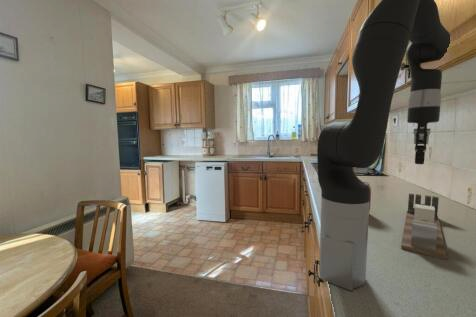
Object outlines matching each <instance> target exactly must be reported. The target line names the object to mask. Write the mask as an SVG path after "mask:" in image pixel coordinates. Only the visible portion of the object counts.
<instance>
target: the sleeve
mask: <svg viewBox="0 0 476 317" xmlns="http://www.w3.org/2000/svg"><path fill="white" fill-rule="evenodd" d="M414 208H415V213H414V220H419V221H420V220H424V221H427V222H430V223H434V216H435V208H434V207H433V206H432V205H431V206H426V205H425V204H424V205H419V204H415V203H414Z"/></svg>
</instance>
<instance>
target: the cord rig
mask: <svg viewBox="0 0 476 317" xmlns="http://www.w3.org/2000/svg"><path fill="white" fill-rule="evenodd" d="M439 199H440V198H439V196H435V195H426V194H425V196H424V204H422V202H421V201H422V194H418V193H417V194H414V193H410V192H409V193H408V201H407V202H408V203H407V210H406V214H405V221H404V227H403V233H402V239H401V245H400V248H401V249H402V250H406V251H411V252H415V253H419V254H421V255H427V256H430V257H435V258H439V259H443V260H447V251H446V247H445V242H444V238H443V233H442V228H441V223H440V220H439V215H438V213H439V212H438V210H439ZM415 204H419V205H426V206H433V207H434V208H435V216H434V223H430V222H427V221H424V220H420V221H419V220H414V213H415Z"/></svg>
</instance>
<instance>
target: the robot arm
mask: <svg viewBox="0 0 476 317" xmlns="http://www.w3.org/2000/svg"><path fill="white" fill-rule="evenodd" d="M449 33H450V32H449V31H448V30H447V28H445V27H444V25H443V24H442V22H441V17H440V13H439V8H438V5H437V3H436V1H435V0H380V1H379V2H378V3H377V5H375V7H374V8H373V9H372V11H371V12H370V13H369V15H368V16H367V17H366V18H365V20H364V22H363V23H362V24H361V26H360V29H359V32H358V34H357V38H356V42H355V46H354V48H353V52H352V57H351V62H352V63H351V64H352V70H353V73H354V75H355V78H356V81H357V84H358V88H359V89H358V90H359V94H358V101H357V104H356V108H355V112H354V113H353V117H352V120H346V121H336V122H330V123H329V124H327V125H325V126H324V127H323V128H322V130H321V131H320V133H319V136H318V139H317V147H316V148H317V150H316V152H317V153H316V154H317V156H316V159H317V180H318V184H319V186H320V190H321V203H320V207H321V208H320V234H319V236H320V237H319V262H318V263H319V264H318V265H319V268H318V269H319V274H320V279H321V280H323V281H325V282H328V283H329V284H333V285H336V286H338V287H341V288H343V289H345V290H348V291H353V290H354V289H355V288H356V289H357V288H359V287H362V286H363V285H365V283H366V280H367V279H366V278H367V259H368V258H367V257H368V256H367V255H368V240H369V239H368V237H369V215H370V212H369V202H370V189H369V187H368V186H367V185H366V184H365V183H363V182H364V181H363V180H361V179H360V178H359V177H358V176H357V175H356V173H355V172H354V168H356V169H368V168H369V167H371V166H373V165H374V164H375V163H376V161H377V160H378V159H379V158H380V156H381V154H382V151H383V147H384V144H385V140H386V135H387V129H388V123H389V118H390V112H391V106H392V101H393V97H394V93H395V89H396V86H397V81H398V78H399V73H400V70H401V67H402V64H403V61H404V58H405V57H406V60H407V63H408V67H409V71H410V92H409V94H410V95H409V97H408V106H407V123H408V124H417V128H413V133H412V134H413V137H414V138H413V144H414V145H415V146H414V152H415V155H414V164H416V165H424V164H425V155H426V154H425V153H426V151H427V145H428V144H429V138H430V137H429V136H430V135H431V128H428V124H431V123H433V124H434V123H439V121H440V117H441V114H440V113H441V104H442V103H441V102H442V93H441V92H442V91H441V88H442V80H443V73H442V72H443V71H442V70H441V69H438V68H424V67H422V64H427V63H431V62H436V61H441V60H440V59H441V58H442V57H443V56H444V54H445V53H446V52H447V48H448V47H449V44H450V35H451V33H450V34H449ZM405 55H406V56H405ZM370 203H371V202H370Z"/></svg>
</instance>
